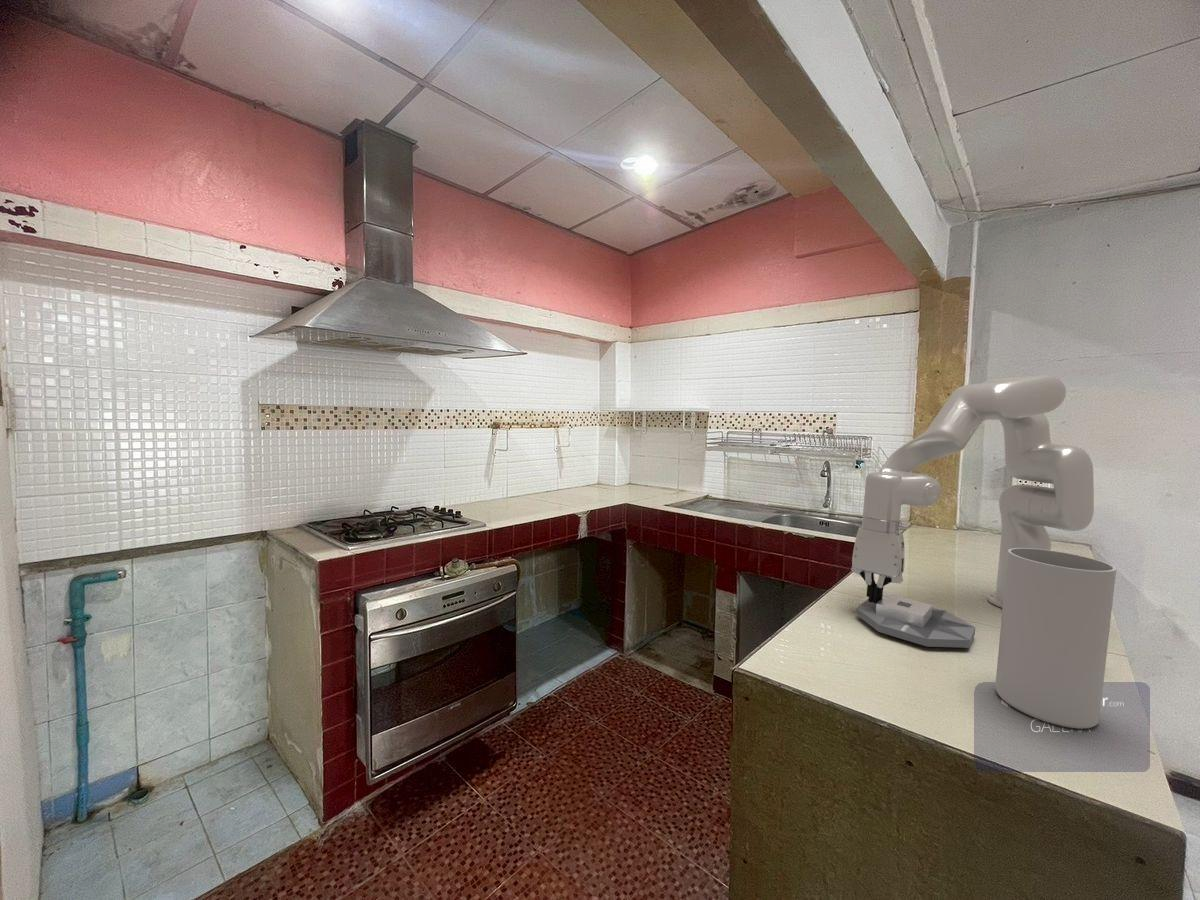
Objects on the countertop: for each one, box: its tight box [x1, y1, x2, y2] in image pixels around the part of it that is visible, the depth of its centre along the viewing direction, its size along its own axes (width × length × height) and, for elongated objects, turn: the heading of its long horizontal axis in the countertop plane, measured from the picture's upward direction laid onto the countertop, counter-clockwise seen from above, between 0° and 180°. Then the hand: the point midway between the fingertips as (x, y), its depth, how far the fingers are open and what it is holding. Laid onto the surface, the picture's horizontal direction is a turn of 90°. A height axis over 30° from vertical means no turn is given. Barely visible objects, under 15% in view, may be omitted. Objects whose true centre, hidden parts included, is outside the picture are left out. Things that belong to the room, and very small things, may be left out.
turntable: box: [856, 598, 976, 649], centre depth 106 cm, size 21×21×2 cm
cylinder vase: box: [994, 548, 1117, 730], centre depth 77 cm, size 12×12×25 cm
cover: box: [876, 593, 933, 628], centre depth 107 cm, size 9×9×3 cm
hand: (874, 601), depth 111 cm, fingers closed
